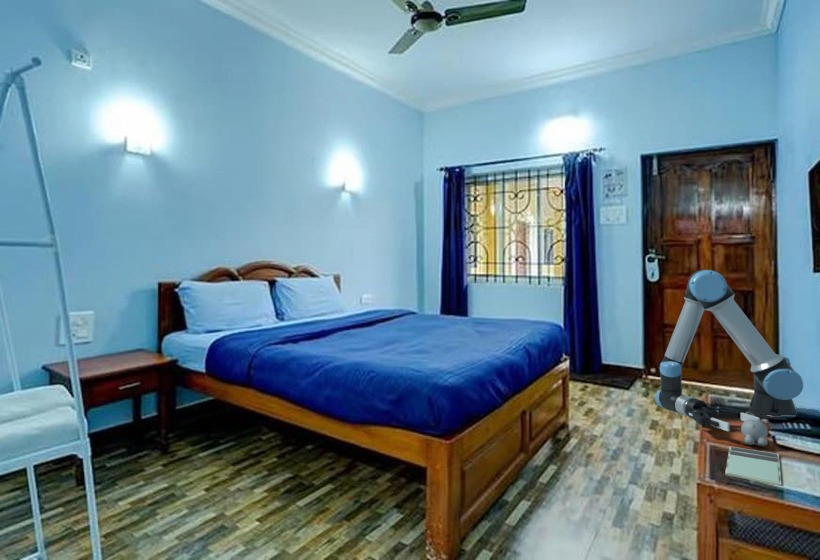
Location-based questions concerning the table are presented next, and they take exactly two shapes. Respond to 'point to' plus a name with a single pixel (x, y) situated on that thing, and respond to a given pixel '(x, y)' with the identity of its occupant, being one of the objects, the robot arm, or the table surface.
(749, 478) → the board
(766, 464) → the pad
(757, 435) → the chubby cartoon animal
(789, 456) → the table surface
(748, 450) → the dark gray parallel strips
